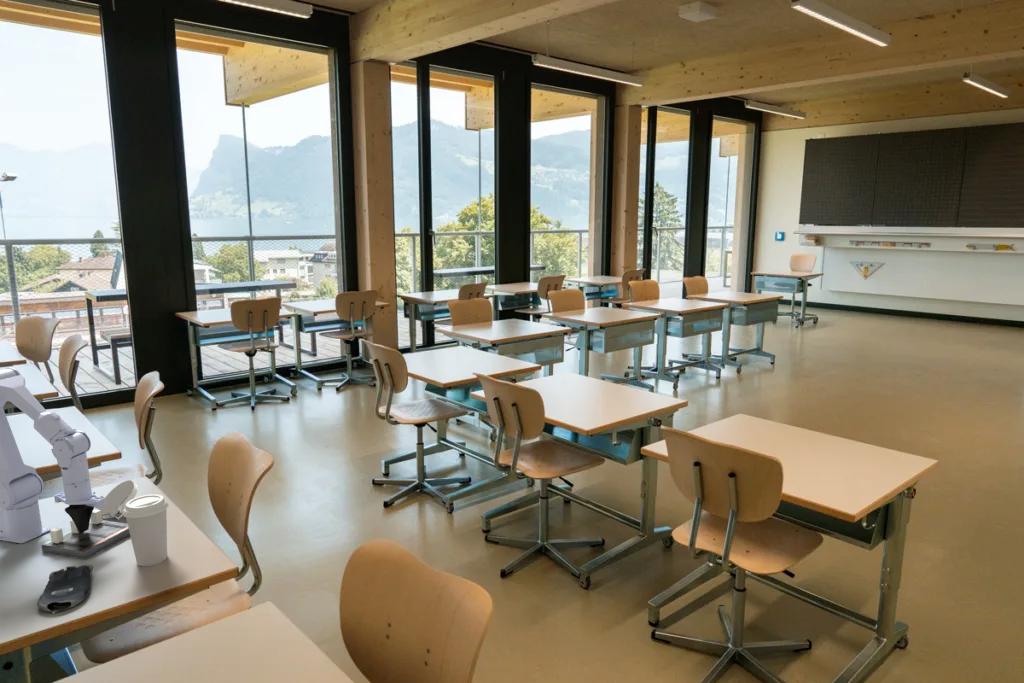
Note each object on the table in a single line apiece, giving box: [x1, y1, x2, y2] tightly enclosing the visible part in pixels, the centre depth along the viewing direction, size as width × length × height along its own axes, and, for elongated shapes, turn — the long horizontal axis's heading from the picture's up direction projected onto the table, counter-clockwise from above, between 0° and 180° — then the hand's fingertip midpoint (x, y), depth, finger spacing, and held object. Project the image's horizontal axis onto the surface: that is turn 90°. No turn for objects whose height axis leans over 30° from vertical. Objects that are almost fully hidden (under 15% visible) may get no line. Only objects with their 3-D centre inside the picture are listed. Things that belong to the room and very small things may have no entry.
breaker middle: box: [69, 519, 80, 533], centre depth 172 cm, size 2×2×4 cm
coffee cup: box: [122, 493, 169, 567], centre depth 160 cm, size 10×10×15 cm
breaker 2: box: [90, 509, 103, 524], centre depth 177 cm, size 2×2×3 cm
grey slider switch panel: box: [40, 519, 131, 560], centre depth 171 cm, size 14×15×2 cm
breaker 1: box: [49, 527, 64, 543], centre depth 167 cm, size 2×2×3 cm
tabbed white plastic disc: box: [97, 479, 139, 520], centre depth 189 cm, size 15×8×11 cm, turn 47°
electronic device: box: [36, 564, 95, 615], centre depth 147 cm, size 9×6×15 cm
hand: (83, 530), depth 172 cm, fingers closed
